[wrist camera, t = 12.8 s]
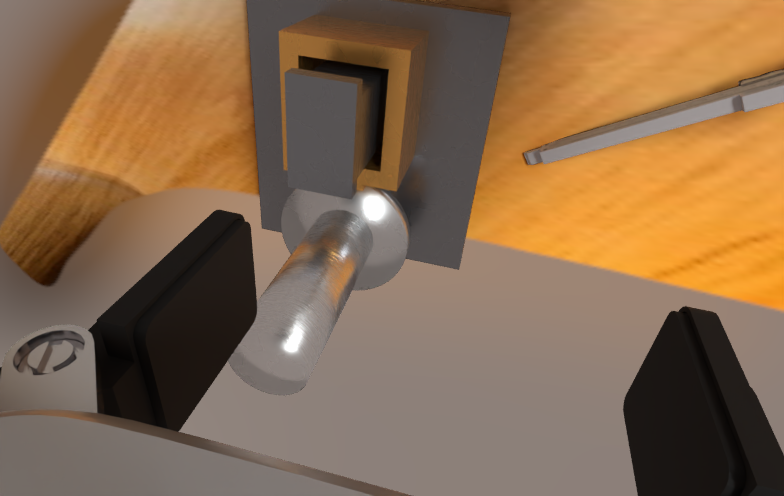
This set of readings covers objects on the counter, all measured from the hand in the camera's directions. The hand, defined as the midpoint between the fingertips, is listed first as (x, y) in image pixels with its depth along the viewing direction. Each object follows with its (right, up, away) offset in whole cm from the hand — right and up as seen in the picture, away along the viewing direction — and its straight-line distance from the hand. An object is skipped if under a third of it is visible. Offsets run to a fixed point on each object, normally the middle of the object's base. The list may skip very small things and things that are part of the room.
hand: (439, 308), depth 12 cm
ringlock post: (-3, +10, +29) cm, 31 cm away
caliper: (+18, +11, +23) cm, 31 cm away
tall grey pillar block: (-3, +13, +25) cm, 29 cm away
